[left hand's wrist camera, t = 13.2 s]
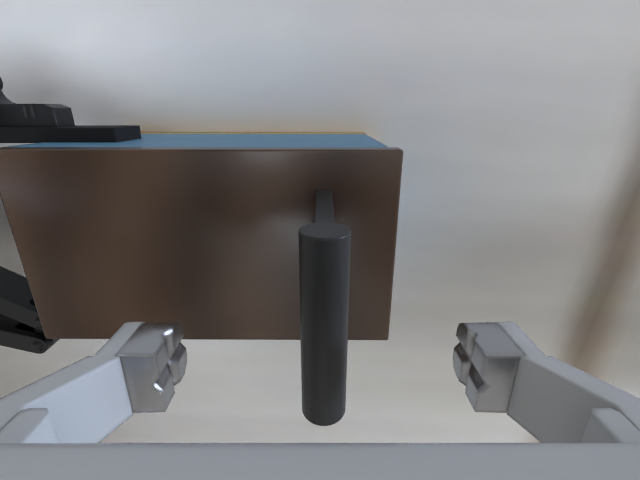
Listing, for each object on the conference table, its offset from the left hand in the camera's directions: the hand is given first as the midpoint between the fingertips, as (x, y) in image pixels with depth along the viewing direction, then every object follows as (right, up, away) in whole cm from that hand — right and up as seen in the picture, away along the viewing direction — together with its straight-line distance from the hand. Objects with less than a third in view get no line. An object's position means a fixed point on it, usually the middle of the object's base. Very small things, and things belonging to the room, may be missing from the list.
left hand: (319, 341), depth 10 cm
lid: (-5, +3, +7) cm, 10 cm away
